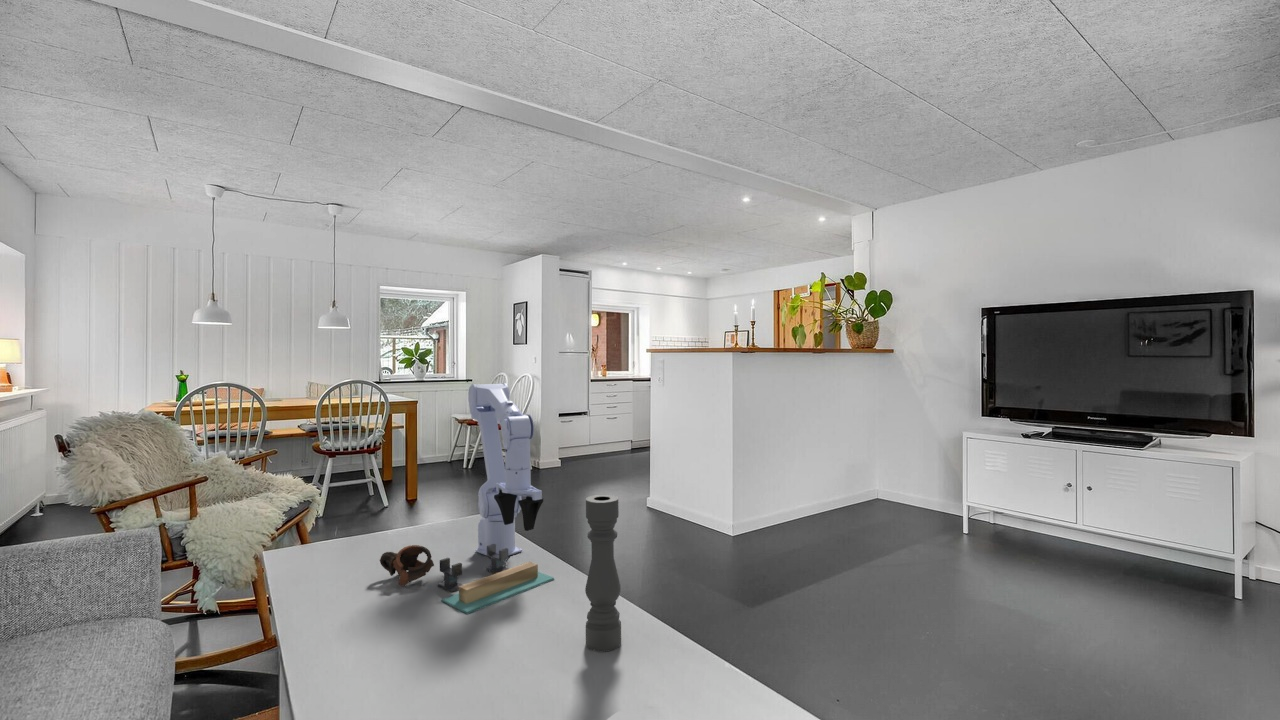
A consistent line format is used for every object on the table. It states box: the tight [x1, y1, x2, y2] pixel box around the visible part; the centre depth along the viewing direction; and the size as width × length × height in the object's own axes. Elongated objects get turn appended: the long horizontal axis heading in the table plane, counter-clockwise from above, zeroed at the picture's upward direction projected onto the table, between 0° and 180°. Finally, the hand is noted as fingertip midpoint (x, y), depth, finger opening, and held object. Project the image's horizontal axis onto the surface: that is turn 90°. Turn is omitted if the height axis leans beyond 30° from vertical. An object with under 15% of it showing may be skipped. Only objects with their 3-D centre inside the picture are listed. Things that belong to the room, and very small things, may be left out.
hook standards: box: [438, 544, 509, 593], centre depth 128 cm, size 6×15×6 cm, turn 139°
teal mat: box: [441, 571, 555, 615], centre depth 122 cm, size 9×22×1 cm, turn 139°
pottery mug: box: [379, 544, 435, 587], centre depth 128 cm, size 12×10×8 cm
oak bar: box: [458, 561, 539, 604], centre depth 122 cm, size 3×18×3 cm, turn 139°
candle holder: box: [584, 494, 622, 652], centre depth 99 cm, size 6×6×25 cm
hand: (518, 526), depth 132 cm, fingers open, 7 cm apart
